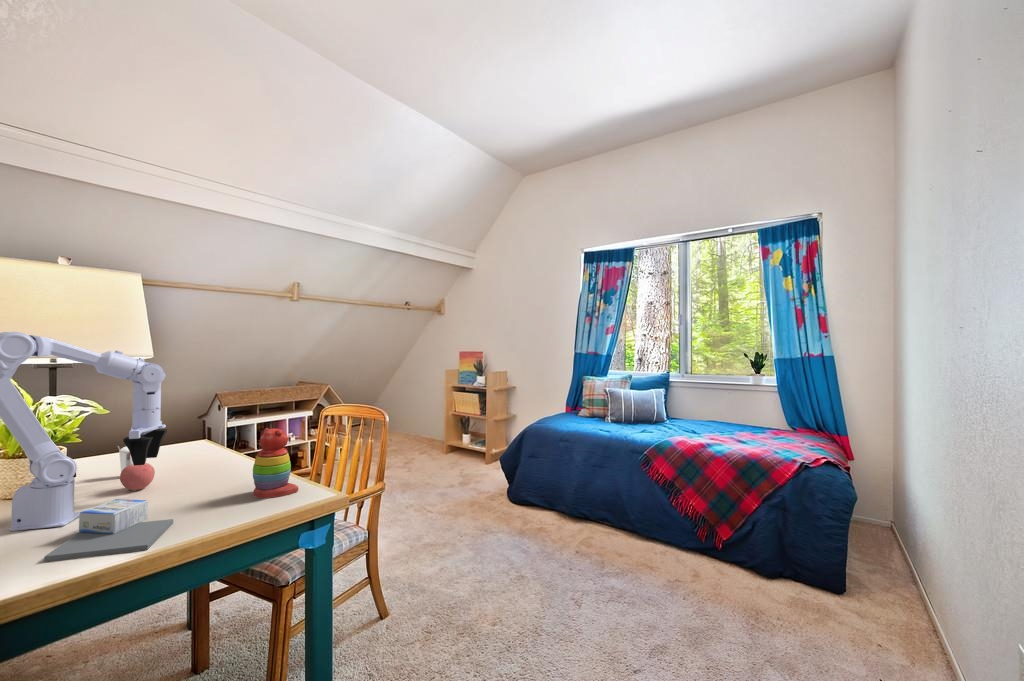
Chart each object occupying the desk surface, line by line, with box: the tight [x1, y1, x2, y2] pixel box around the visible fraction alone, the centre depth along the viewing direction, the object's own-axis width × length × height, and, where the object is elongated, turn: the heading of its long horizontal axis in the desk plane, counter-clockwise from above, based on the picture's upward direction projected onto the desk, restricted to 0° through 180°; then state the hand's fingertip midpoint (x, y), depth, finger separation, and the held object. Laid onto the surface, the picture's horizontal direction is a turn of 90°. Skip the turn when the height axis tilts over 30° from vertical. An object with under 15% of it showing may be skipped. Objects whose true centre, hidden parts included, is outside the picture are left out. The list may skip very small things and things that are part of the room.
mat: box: [43, 518, 174, 563], centre depth 94 cm, size 16×14×1 cm
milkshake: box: [117, 445, 133, 473], centre depth 138 cm, size 4×5×10 cm
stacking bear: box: [252, 427, 300, 499], centre depth 126 cm, size 11×10×18 cm
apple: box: [119, 462, 156, 491], centre depth 127 cm, size 7×7×8 cm
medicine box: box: [78, 498, 149, 534], centre depth 99 cm, size 8×4×9 cm
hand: (145, 461), depth 117 cm, fingers open, 7 cm apart
